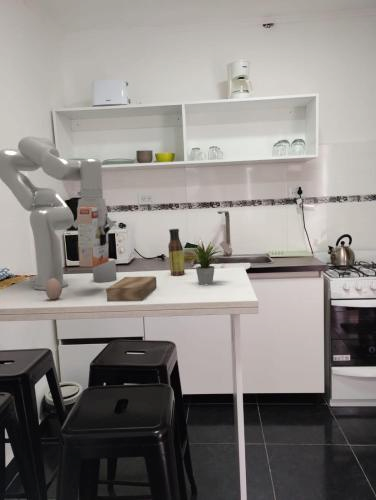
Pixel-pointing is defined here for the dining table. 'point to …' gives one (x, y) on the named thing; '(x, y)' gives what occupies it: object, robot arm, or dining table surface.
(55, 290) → the egg
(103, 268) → the grey mug
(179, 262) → the sauce bottle
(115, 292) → the riser
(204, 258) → the house plant
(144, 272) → the dining table surface
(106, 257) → the cracker box
